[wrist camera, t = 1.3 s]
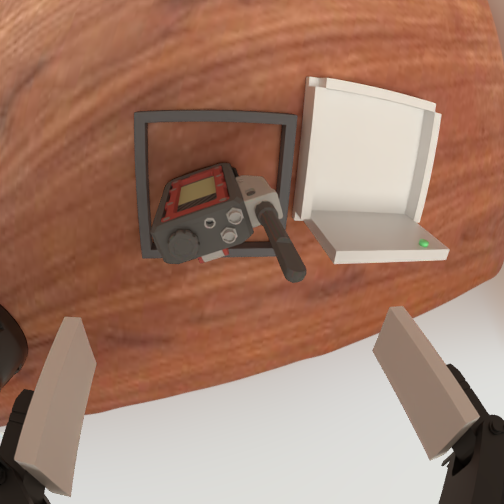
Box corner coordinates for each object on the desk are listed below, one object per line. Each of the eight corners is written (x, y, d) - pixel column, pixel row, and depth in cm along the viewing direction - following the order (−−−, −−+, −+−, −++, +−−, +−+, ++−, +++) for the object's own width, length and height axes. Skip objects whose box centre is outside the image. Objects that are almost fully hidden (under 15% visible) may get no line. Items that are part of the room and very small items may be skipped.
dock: (291, 216, 35) (322, 264, 26) (306, 76, 28) (350, 74, 19) (404, 220, 37) (452, 259, 28) (426, 102, 30) (487, 116, 21)
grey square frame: (144, 251, 34) (142, 258, 33) (137, 111, 27) (134, 112, 26) (279, 249, 36) (282, 256, 35) (293, 114, 29) (297, 115, 28)
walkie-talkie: (249, 150, 31) (316, 243, 13) (260, 190, 33) (329, 318, 15) (164, 179, 31) (122, 305, 13) (179, 217, 33) (164, 368, 15)
